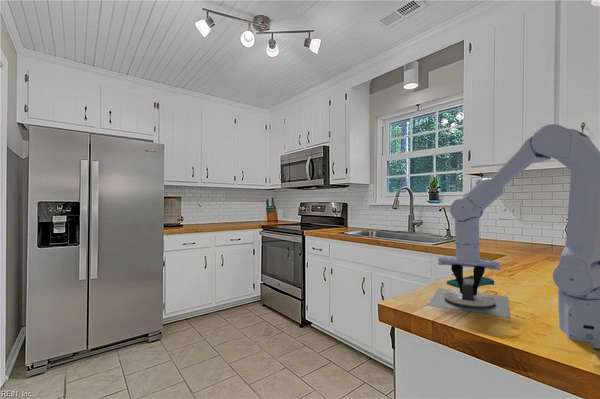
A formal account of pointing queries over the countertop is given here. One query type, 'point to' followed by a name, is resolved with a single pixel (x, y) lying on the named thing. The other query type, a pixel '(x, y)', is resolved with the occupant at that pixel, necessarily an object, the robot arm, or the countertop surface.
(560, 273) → the robot arm
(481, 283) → the digital multimeter
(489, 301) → the dial
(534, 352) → the countertop surface
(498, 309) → the dial panel
